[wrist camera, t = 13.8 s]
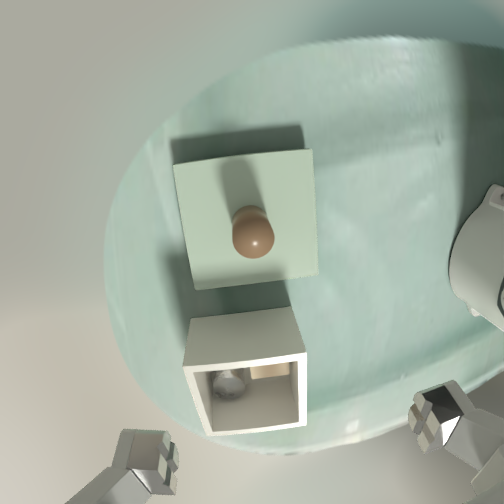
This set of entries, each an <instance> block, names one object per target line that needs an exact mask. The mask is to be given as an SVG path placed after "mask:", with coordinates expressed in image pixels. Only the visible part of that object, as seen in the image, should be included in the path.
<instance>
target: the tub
mask: <svg viewBox="0 0 504 504" xmlns="http://www.w3.org/2000/svg"><path fill="white" fill-rule="evenodd" d="M284 362H289V372H290V374H287V375H281V376H273V377H266V378H258V379H252V377H251V371H250V367H254V366H262V365H270V364H277V363H284ZM182 367H183V370H184V373H185V376H186V379H187V382H188V385H189V388H190V391H191V394H192V397H193V400H194V403H195V406H196V408H197V411H198V414H199V417H200V420H201V422H202V425H203V428H204V430H205V433H206V436H219V435H233V434H244V433H254V432H262V431H270V430H278V429H285V428H291V427H298V426H304V425H306V408H307V352H306V349H305V346H304V343H303V340H302V337H301V334H300V331H299V328H298V325H297V322H296V319H295V316H294V313H293V310H292V307H291V306H289V307H282V308H275V309H267V310H259V311H251V312H243V313H235V314H226V315H217V316H208V317H198V318H191V320H190V325H189V331H188V337H187V342H186V348H185V354H184V360H183V366H182ZM237 368H244V376H245V392H244V394H243V395H242V396H240V397H239V398H236V399H223V398H220V397H218V396H217V395H216V394H215V393H214V390H213V384H214V371H216V370H227V369H237Z"/></svg>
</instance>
